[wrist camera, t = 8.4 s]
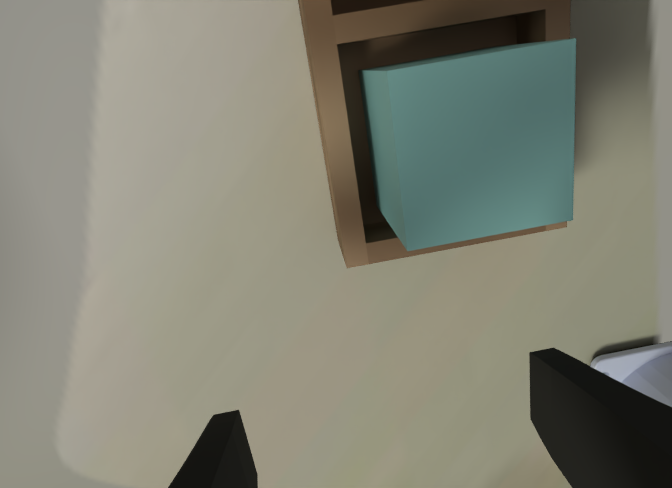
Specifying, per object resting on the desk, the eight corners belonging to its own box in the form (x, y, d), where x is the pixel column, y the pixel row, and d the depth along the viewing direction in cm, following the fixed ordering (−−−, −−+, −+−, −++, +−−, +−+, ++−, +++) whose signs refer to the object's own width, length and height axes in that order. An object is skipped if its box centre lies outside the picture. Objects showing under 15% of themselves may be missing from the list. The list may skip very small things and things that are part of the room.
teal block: (501, 182, 19) (572, 220, 14) (376, 205, 19) (407, 251, 14) (496, 46, 17) (576, 38, 12) (358, 70, 17) (386, 71, 12)
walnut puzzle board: (528, 205, 20) (620, 257, 15) (338, 240, 20) (359, 307, 14) (520, -275, 15) (664, -483, 9) (258, -238, 14) (242, -430, 9)
